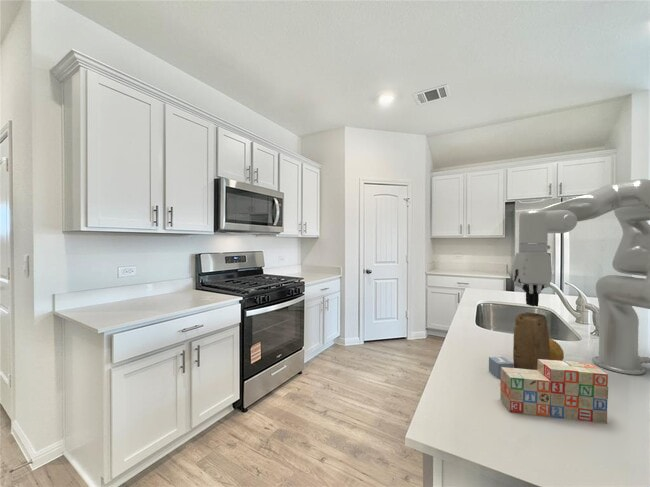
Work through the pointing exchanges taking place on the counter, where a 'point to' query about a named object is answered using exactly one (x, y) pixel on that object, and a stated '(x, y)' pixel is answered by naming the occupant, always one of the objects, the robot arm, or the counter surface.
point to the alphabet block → (498, 365)
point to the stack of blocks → (557, 390)
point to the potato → (555, 351)
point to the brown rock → (530, 340)
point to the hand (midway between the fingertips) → (532, 305)
